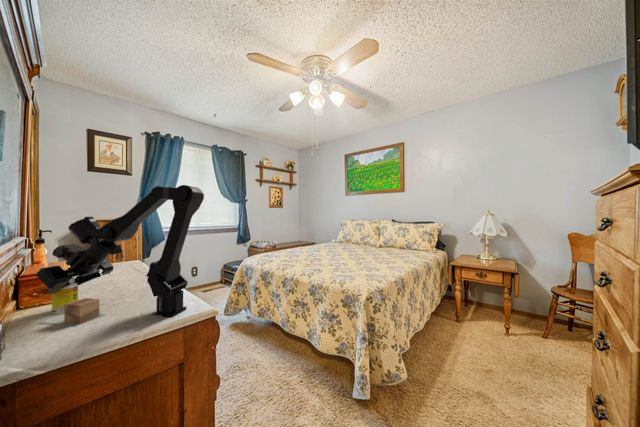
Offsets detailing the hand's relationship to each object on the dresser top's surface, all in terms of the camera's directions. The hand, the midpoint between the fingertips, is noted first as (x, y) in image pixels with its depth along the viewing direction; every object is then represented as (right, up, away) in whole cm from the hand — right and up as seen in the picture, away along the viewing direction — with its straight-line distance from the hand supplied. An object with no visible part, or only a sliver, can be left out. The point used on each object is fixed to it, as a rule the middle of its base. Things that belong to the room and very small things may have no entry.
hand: (60, 289), depth 75 cm
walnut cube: (+14, -6, -7) cm, 16 cm away
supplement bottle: (+1, -7, 0) cm, 7 cm away
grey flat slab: (+11, -6, -7) cm, 14 cm away
